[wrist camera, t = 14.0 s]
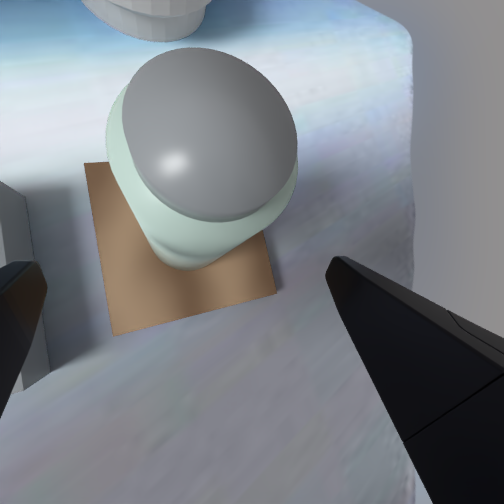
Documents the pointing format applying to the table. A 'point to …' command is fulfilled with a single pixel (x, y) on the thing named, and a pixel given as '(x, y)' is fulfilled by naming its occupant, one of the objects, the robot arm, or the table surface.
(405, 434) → the robot arm
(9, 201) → the grey square tray
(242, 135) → the grey-lidded mint jar
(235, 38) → the table surface
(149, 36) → the flag stand
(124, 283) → the walnut pad
